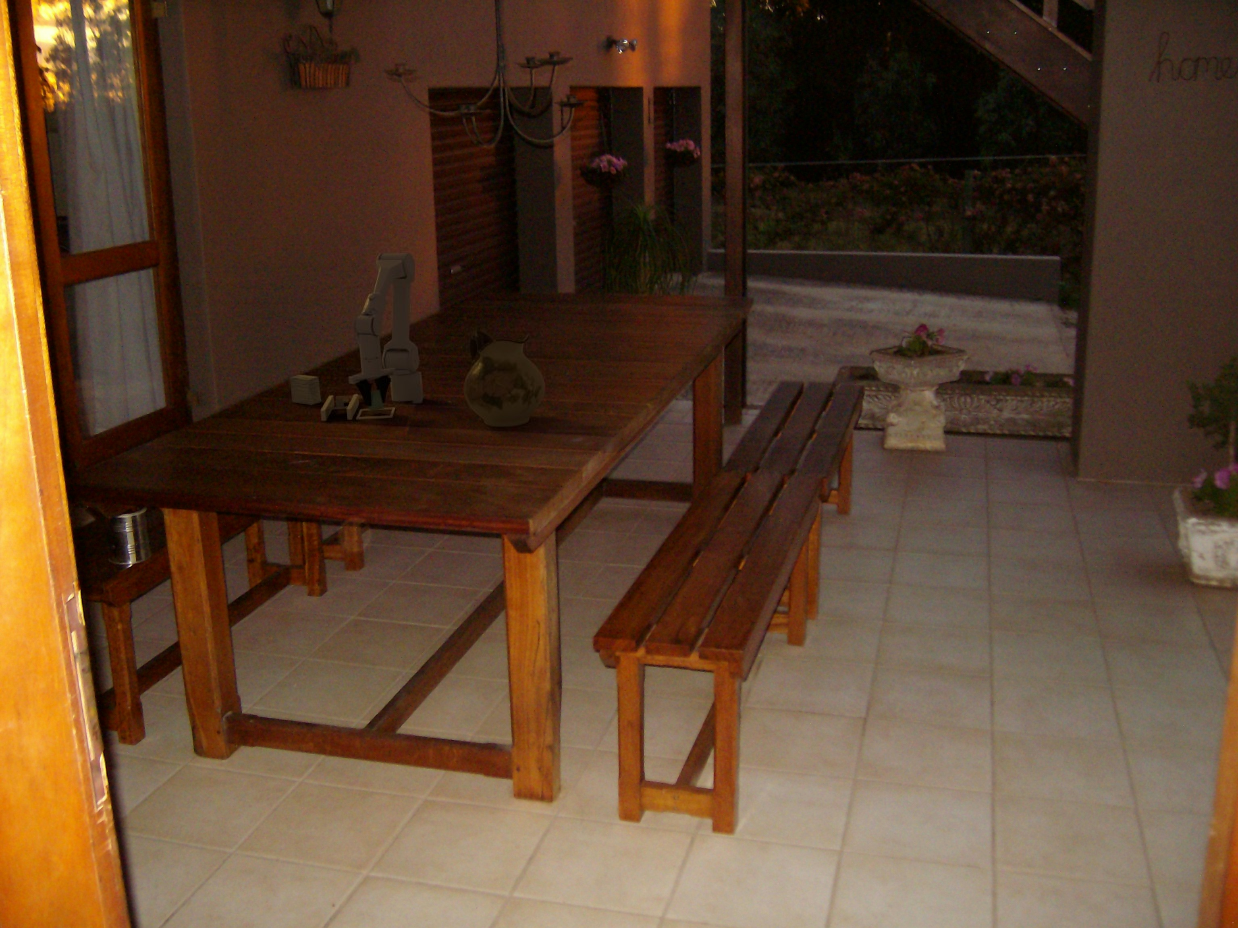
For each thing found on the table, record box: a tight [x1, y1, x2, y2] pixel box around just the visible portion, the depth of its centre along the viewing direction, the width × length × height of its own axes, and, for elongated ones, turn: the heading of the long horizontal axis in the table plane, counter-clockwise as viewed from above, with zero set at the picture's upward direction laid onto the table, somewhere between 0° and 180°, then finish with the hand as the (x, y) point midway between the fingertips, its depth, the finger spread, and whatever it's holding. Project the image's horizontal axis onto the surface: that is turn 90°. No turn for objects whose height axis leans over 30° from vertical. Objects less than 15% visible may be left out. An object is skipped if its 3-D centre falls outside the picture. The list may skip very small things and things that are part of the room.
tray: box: [355, 406, 396, 420], centre depth 353 cm, size 10×10×1 cm
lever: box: [327, 394, 363, 410], centre depth 358 cm, size 9×19×4 cm, turn 5°
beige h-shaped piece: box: [320, 393, 360, 422], centre depth 355 cm, size 8×18×4 cm, turn 5°
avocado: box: [368, 389, 385, 412], centre depth 351 cm, size 4×4×6 cm
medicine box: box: [289, 374, 322, 406], centre depth 368 cm, size 8×4×9 cm, turn 58°
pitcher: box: [463, 329, 546, 428], centre depth 340 cm, size 22×24×25 cm
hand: (375, 404), depth 352 cm, fingers closed on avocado, 4 cm apart
